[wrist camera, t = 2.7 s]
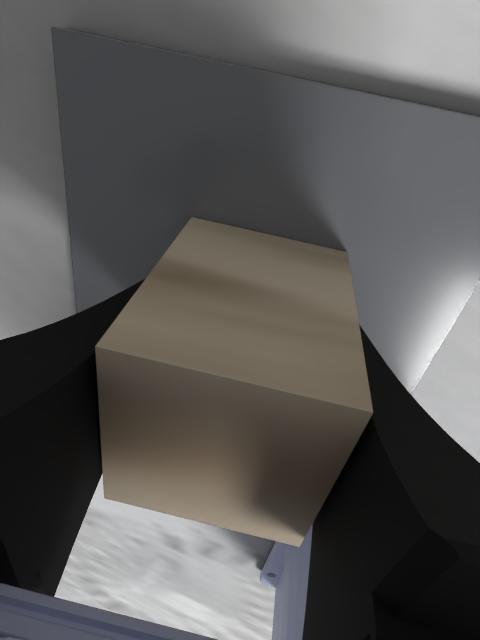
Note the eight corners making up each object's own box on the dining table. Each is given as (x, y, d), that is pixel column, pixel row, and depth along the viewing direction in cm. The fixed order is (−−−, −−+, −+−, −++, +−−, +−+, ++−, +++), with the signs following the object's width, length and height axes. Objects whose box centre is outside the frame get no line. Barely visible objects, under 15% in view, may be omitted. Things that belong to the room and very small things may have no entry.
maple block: (305, 368, 14) (299, 547, 9) (179, 339, 14) (104, 498, 9) (347, 252, 11) (373, 412, 6) (191, 217, 11) (95, 347, 6)
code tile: (370, 445, 16) (372, 457, 16) (90, 377, 17) (83, 387, 16) (554, 132, 9) (567, 136, 9) (64, 28, 10) (51, 26, 9)
